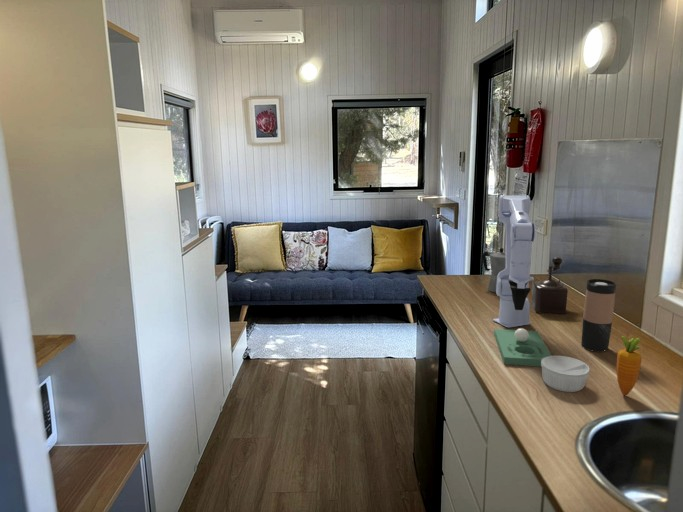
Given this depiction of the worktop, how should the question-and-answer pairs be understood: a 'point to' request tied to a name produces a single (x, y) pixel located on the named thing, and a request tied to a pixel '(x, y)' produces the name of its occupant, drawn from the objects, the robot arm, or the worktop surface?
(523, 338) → the ball
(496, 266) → the coffeepot
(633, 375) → the carrot
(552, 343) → the worktop surface
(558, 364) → the ramekin
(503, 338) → the putting mat
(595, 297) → the travel mug
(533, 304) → the manual coffee grinder
